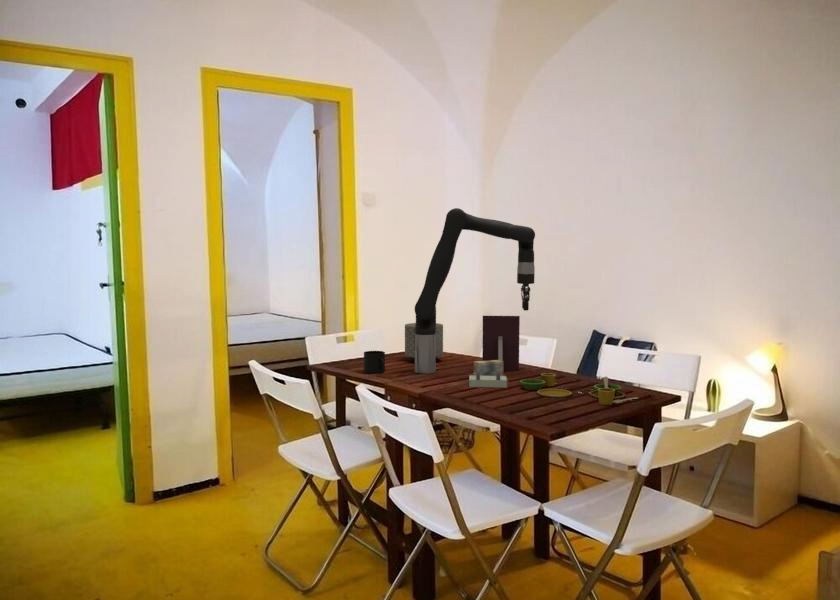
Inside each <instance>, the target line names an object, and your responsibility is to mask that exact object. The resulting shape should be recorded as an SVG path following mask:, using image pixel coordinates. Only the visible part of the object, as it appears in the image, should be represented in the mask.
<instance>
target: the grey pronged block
mask: <svg viewBox="0 0 840 600" xmlns="http://www.w3.org/2000/svg"><path fill="white" fill-rule="evenodd" d="M468 381H469V382H468V384H469V385H468V388H493V389H494V388H496V389H498V388H501V389H504V388H505V389H507V388H508V378H507V376H506V375H503V376H500V367H499V366H496V376H480V366H476V376H474V374H472V375H469V379H468Z"/></svg>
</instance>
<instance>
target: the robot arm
mask: <svg viewBox="0 0 840 600" xmlns="http://www.w3.org/2000/svg"><path fill="white" fill-rule="evenodd" d="M463 230H464V231H465V230H466V231H473V232H478V233H482V234H486V235H489V236H492V237H496V238H501V239H504V240H513V241H517V243H518V245H517V246H518V252H517V256H518V257H517V266H516V267H517V268H516V271H517V274H516V284H522V285H521V287H520V296H521V302H522V304H521V305H522V306H521V308H522V309H523V311H529V308H530V307H529V305H530V303H529V302H530V298H531V287H530V286H529V285H533V284H535V276H536V275H535V272H536V270H535V268H536V267H535V251H534V242H535V238H536V232H535V230H534V229H533V228H532V227H529V226H524V225H518V224H512V223H510V222H507V221H501V220H496V219H491V218H490V219H489V218H484V217H478V216H474V215H472V214H469V213H467V212H465V211H464V210H463V209H461V208H459V207H455V208H452V209H450V210H449V211H448V212H447V213H446V217H445V221H444V226H443V230H442V232H441V233H442V234H441V237H440V239H439V241H438V243H437V245H436V248H435V250H434V252H433V254H432V258H431V259H430V262H429V266H428V269H427V272H426V277H425V281H424V284H423V288H422V291H421V293H420V295H419V298H418V300H417V301H416V303H415V305H414V313H415V323H416V325H415V361H414V373H416V374H417V373H418V374H432V373H433V374H435V373H436V370H437V369H436V366H437V365H436V360H437V359H436V323H437V301H438V298H439V294H440V291H441V290H442V288H443V286H444V284H445V282H446V280H447V278H448V276H449V273H450V270H451V267H452V265H453V261H454V258H455V253H456V247H457V243H458V240H459V237H460V236H461V233H462V231H463Z"/></svg>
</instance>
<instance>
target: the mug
mask: <svg viewBox="0 0 840 600" xmlns="http://www.w3.org/2000/svg"><path fill="white" fill-rule="evenodd" d="M363 372H364V373H365V374H369V375H378V374H383V373H385V372H386V352H385V351H382V350H369V351H364V352H363Z"/></svg>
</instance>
